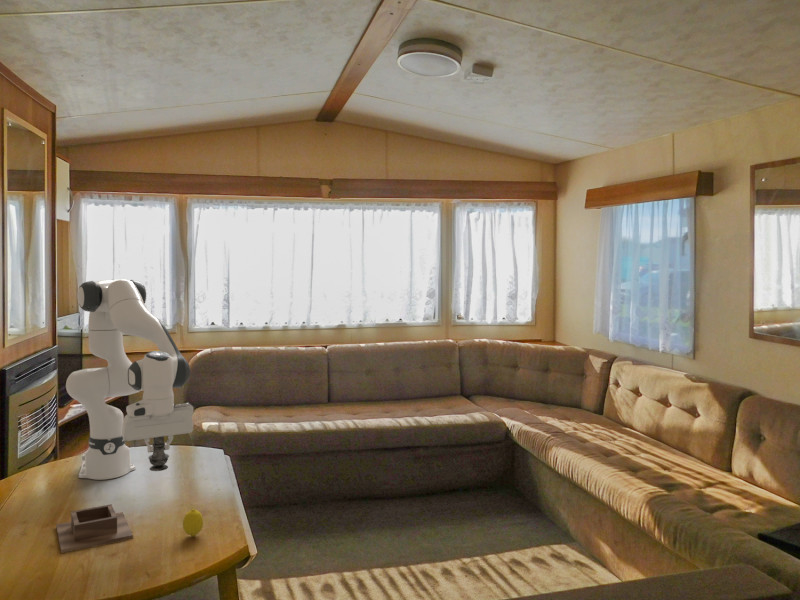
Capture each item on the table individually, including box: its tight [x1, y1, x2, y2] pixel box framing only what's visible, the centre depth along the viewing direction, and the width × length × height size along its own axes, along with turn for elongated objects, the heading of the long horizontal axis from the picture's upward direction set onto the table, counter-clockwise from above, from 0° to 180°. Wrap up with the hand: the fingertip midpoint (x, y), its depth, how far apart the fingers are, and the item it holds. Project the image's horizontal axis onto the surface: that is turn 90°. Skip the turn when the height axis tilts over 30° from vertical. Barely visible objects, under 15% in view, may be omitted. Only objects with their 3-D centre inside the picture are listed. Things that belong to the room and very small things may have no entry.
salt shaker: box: [148, 436, 170, 472], centre depth 191 cm, size 6×6×12 cm
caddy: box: [55, 504, 134, 554], centre depth 181 cm, size 18×18×6 cm
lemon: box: [182, 508, 204, 537], centre depth 181 cm, size 6×6×8 cm
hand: (158, 450), depth 191 cm, fingers closed on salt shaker, 3 cm apart
